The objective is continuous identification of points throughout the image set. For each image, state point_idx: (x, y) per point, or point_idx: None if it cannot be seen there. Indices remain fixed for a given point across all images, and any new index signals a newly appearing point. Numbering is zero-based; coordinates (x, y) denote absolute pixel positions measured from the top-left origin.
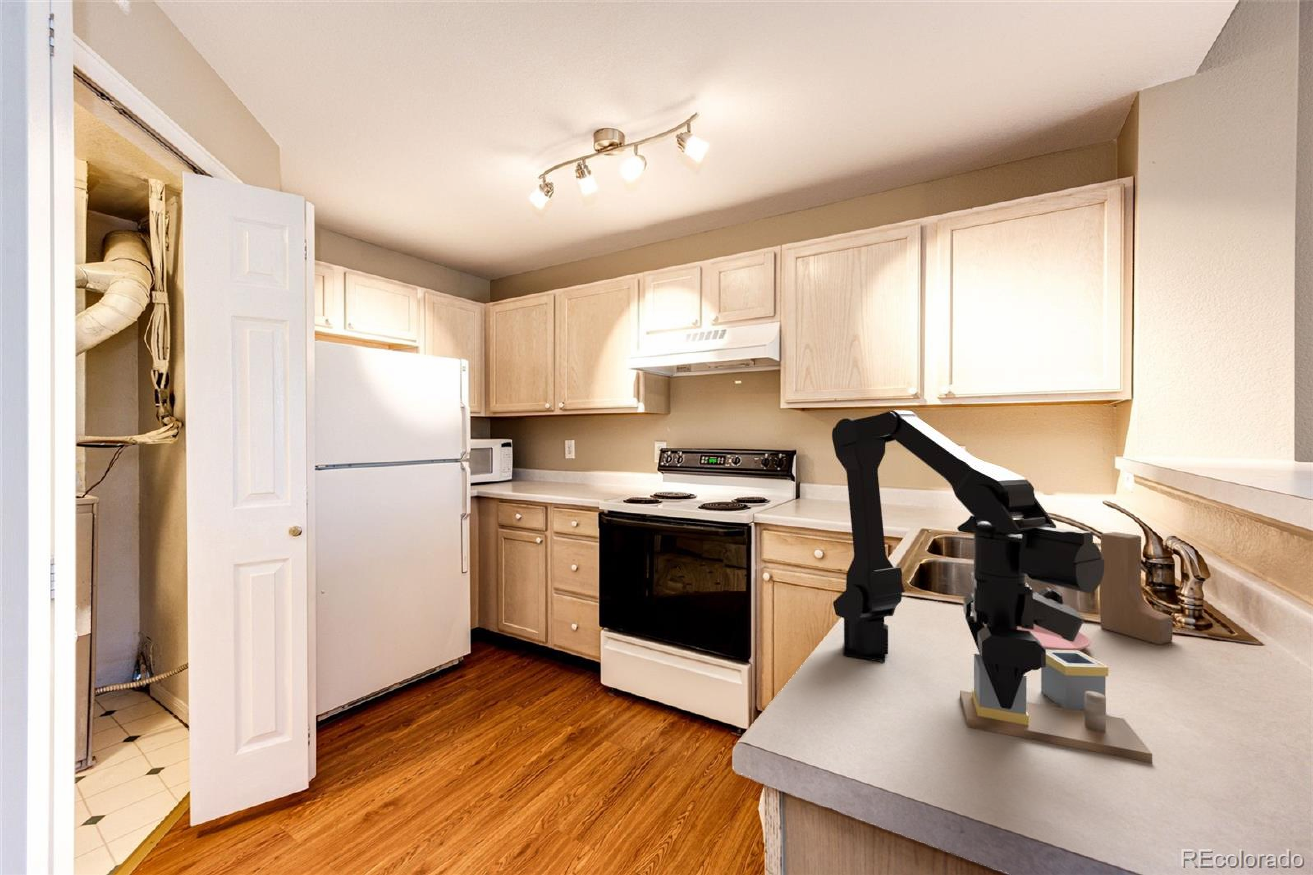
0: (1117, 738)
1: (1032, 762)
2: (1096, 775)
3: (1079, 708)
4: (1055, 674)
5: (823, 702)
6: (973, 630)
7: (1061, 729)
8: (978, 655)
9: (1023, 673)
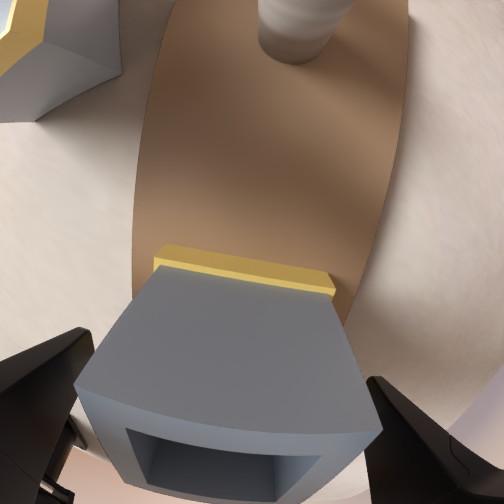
0: (352, 17)
1: (437, 300)
2: (475, 183)
3: (116, 36)
4: (12, 82)
5: None
6: (30, 501)
7: (340, 167)
8: (136, 483)
9: (500, 473)
